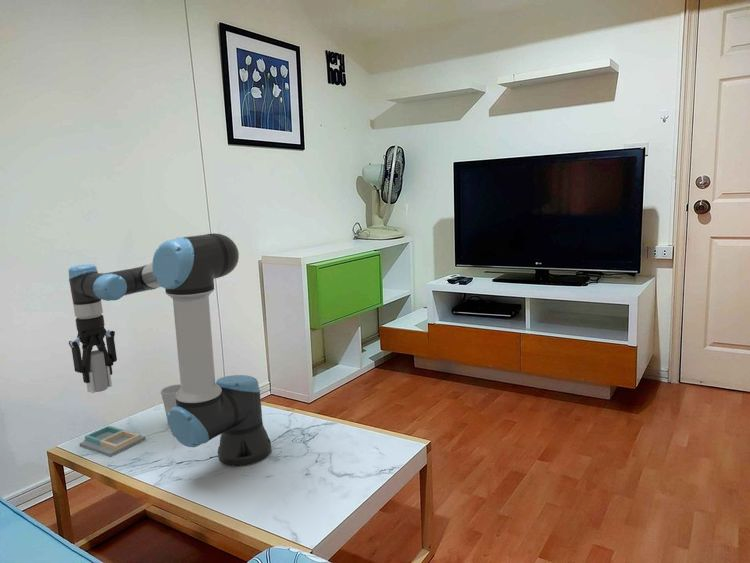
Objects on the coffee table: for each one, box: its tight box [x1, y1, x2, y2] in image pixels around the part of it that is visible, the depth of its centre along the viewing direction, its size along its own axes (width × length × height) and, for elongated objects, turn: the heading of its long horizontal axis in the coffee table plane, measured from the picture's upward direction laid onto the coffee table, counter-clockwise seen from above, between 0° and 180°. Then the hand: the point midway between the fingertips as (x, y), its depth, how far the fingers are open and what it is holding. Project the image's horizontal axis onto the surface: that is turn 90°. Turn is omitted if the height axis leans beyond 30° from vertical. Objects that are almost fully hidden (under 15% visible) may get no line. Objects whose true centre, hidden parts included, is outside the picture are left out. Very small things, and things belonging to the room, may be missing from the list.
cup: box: [160, 383, 181, 427], centre depth 180 cm, size 8×8×12 cm
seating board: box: [78, 425, 147, 458], centre depth 168 cm, size 16×12×2 cm
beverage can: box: [89, 349, 109, 393], centre depth 166 cm, size 5×5×12 cm
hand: (99, 388), depth 167 cm, fingers closed on beverage can, 5 cm apart
